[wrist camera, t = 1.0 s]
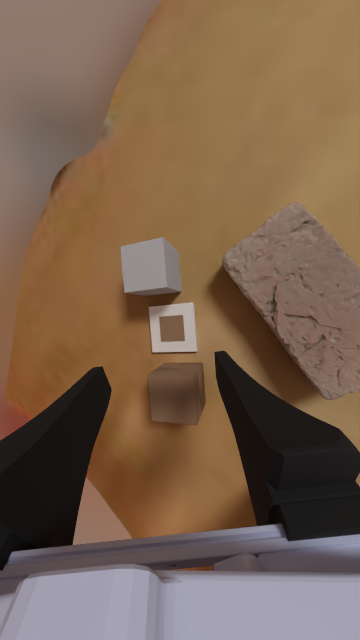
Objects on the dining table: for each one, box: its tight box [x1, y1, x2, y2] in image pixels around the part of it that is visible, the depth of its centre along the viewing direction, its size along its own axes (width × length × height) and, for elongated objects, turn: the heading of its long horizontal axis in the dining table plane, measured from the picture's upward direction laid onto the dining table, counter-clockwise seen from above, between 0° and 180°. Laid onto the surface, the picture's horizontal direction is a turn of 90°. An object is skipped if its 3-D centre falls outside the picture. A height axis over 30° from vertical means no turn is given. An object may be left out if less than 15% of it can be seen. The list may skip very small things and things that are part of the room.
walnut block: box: [148, 363, 206, 426], centre depth 22 cm, size 5×5×5 cm
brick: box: [222, 202, 360, 400], centre depth 18 cm, size 17×8×5 cm, turn 37°
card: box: [149, 303, 198, 352], centre depth 24 cm, size 6×6×1 cm
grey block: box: [121, 237, 182, 296], centre depth 22 cm, size 5×5×5 cm
